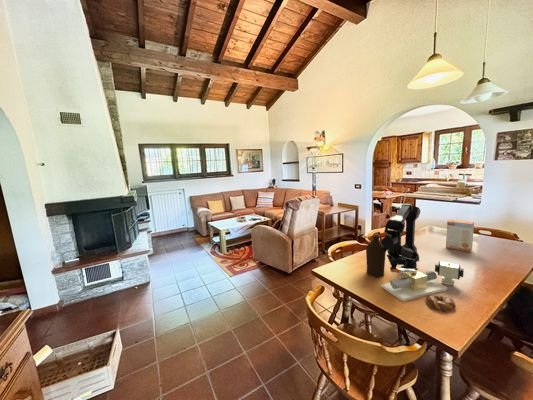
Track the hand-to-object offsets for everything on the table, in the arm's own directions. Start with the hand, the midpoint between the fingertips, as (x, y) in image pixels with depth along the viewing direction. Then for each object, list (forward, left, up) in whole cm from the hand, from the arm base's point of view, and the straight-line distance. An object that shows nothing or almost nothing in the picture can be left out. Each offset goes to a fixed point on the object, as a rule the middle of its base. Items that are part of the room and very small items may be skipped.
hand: (393, 269), depth 123 cm
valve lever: (+4, +2, 0) cm, 5 cm away
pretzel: (+21, +6, -9) cm, 24 cm away
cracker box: (-21, +79, -9) cm, 83 cm away
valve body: (+7, +6, -7) cm, 12 cm away
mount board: (+7, +6, -9) cm, 13 cm away
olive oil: (-13, 0, -9) cm, 16 cm away
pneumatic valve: (+10, +26, -9) cm, 30 cm away
